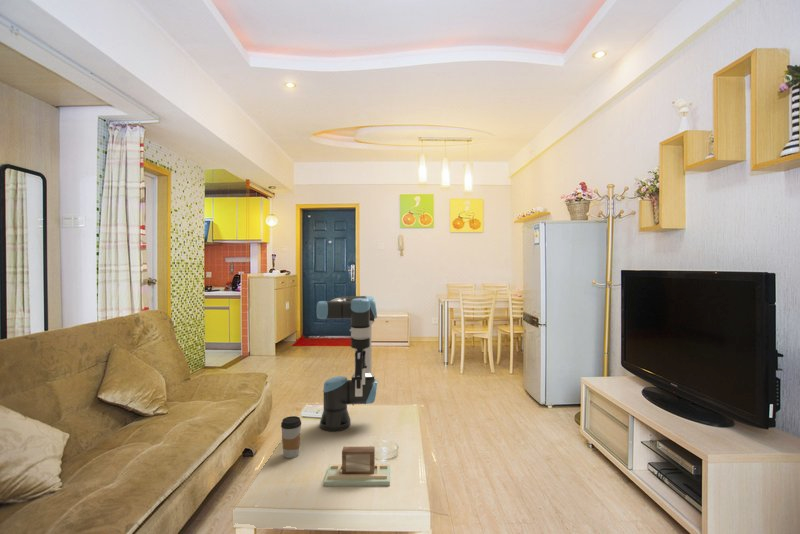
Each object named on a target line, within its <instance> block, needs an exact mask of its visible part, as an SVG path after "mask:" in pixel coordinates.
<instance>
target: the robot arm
mask: <svg viewBox="0 0 800 534" xmlns="http://www.w3.org/2000/svg"><path fill="white" fill-rule="evenodd" d="M316 317H317V319H319V320H350V329H349V332H350V336H351V338H350V347H351V348H352V349H354V373H353V374H351V379H348V378H347V376H334V377H331V378H328V379H326V380H325V381H324V383H323V390H322V392H323V410H322V414H321V418H320V421H319V427H320V429H321V430H323V431H326V432H339V431H344V430H347V429H348V428H349V427H350V426H351V423H352V421H351V416H350V415H349V414H350V413H349V411H348V405H370V404H374V403H375V401H376V397H377V389H378V388H377V387H378V380H377V379H376V378H375V375H374V373H373V372H372V325H373V324H374V323H375V319H377V318H378V314H377V306H376V300H375V297H373V296H372V295H371V296H370V295H369V296H368V295H357V296H356V295H354V296H353V295H352V296H351V295H349V296H346V295H345V296H340V297H336V298H333V299H331V300H328V301H327V300H320V301H318V302H317V303H316Z"/></svg>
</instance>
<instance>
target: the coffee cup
mask: <svg viewBox="0 0 800 534" xmlns="http://www.w3.org/2000/svg"><path fill="white" fill-rule="evenodd" d="M280 427H281V441H282V450H283V451H282V454H283V456H284V457H286V459H293V458H296V456H297V457H298V456H299V454H300V446H301V434H302V433H301V429H302V428H301V427H302V420H301V418H300V416H296V415H295V416H293V415H292V416H286V417H284V418H283V419H282V420H281V423H280Z"/></svg>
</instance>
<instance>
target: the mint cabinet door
mask: <svg viewBox="0 0 800 534" xmlns="http://www.w3.org/2000/svg"><path fill="white" fill-rule="evenodd" d="M323 486H324V487H326V486H327V487H328V486H329V487H333V486H335V487H341V486H343V487H347V486H349V487H351V486H352V487H357V486H359V487H360V486H362V487H363V486H365V487H366V486H369V487H370V486H371V487H372V486H375V487H376V486H377V487H378V486H391V464H390V463H388V464H387V463H385V464H384V463H379V464H378V463H375V471H374V474H342V463H341V464H338V463H337V464H329V465H328V469H327V471H326V474H325V478H324V480H323Z"/></svg>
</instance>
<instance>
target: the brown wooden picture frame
mask: <svg viewBox="0 0 800 534" xmlns="http://www.w3.org/2000/svg"><path fill="white" fill-rule="evenodd" d="M375 450H376V449H375V445H374V446H343V447H342V450H341V464H342V474H374V471H375V464H376V463H375V462H376V461H375Z"/></svg>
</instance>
